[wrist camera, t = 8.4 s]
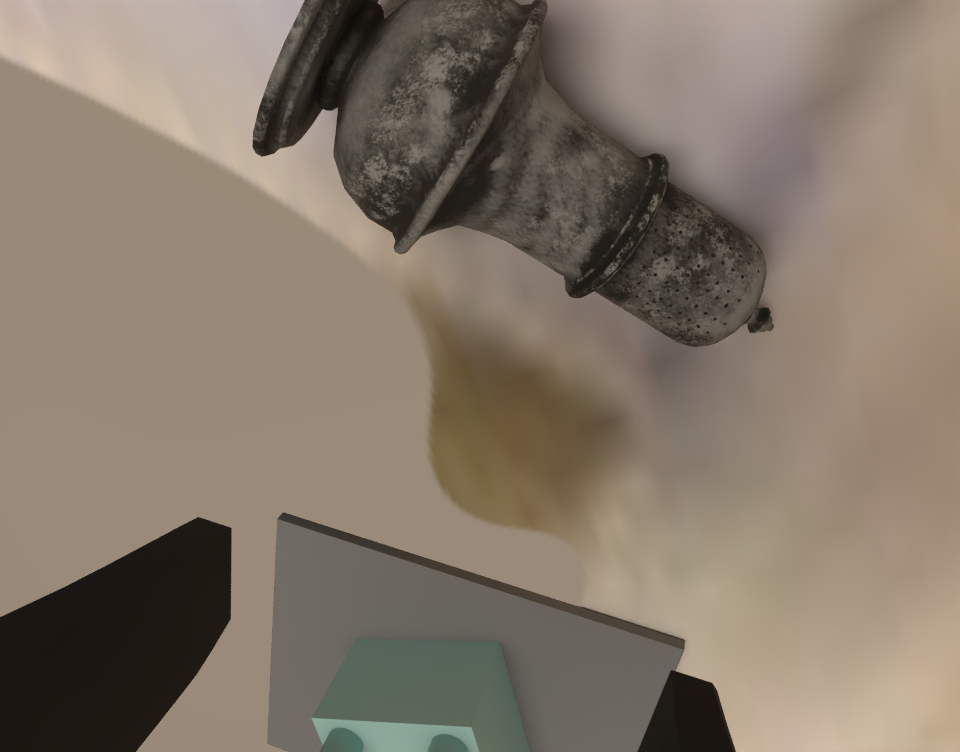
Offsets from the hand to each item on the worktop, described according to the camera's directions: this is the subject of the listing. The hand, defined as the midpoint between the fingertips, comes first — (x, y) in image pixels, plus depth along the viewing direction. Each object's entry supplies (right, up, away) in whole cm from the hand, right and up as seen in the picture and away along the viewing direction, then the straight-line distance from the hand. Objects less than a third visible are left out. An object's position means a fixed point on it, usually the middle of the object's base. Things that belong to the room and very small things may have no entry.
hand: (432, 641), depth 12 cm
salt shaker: (-3, +11, +3) cm, 12 cm away
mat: (0, -8, +16) cm, 17 cm away
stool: (-1, -8, +15) cm, 17 cm away
